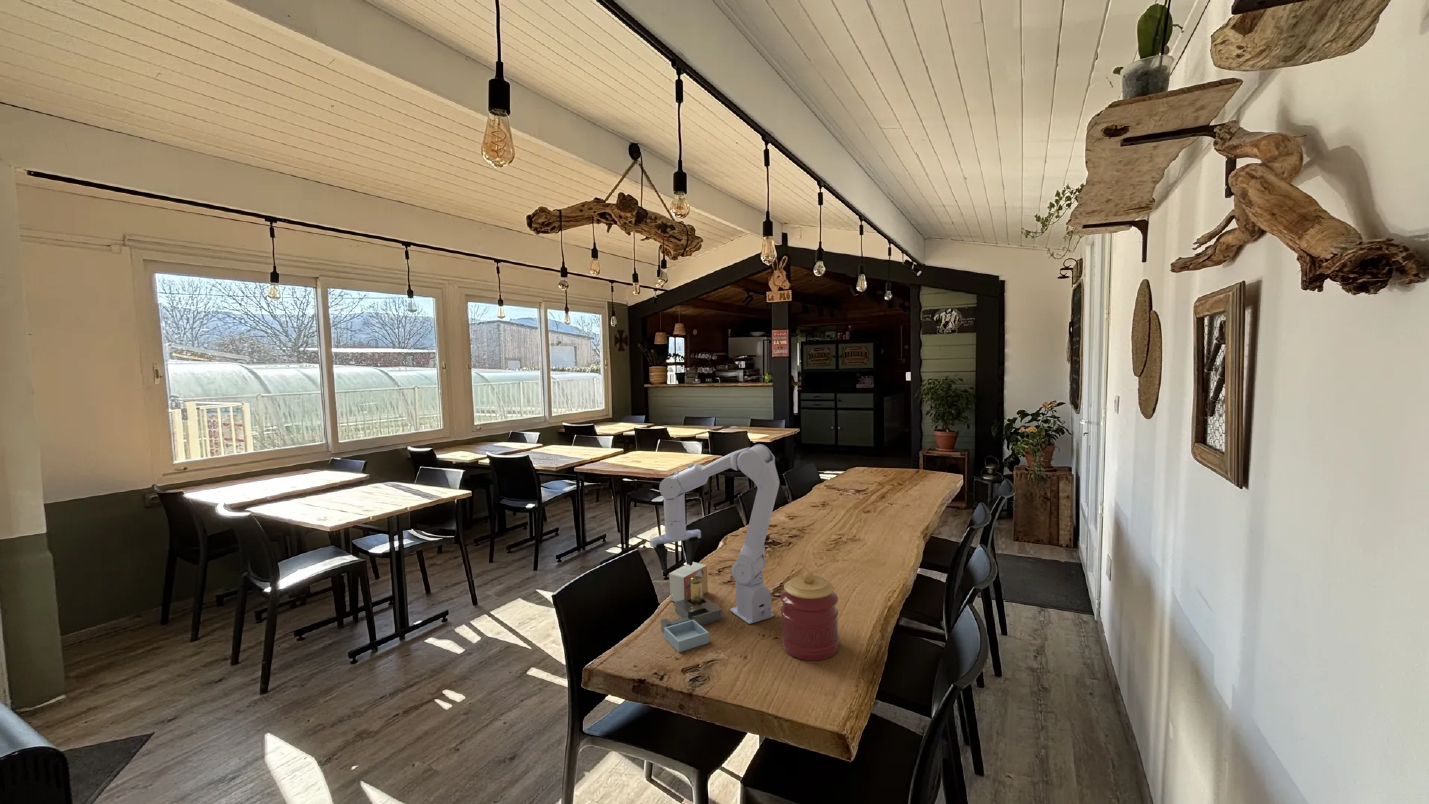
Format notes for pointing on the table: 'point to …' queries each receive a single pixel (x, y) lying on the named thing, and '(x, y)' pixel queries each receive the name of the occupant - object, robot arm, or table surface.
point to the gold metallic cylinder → (696, 590)
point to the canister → (809, 617)
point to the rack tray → (686, 635)
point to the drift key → (672, 622)
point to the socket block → (699, 611)
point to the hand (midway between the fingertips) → (677, 567)
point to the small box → (686, 581)
